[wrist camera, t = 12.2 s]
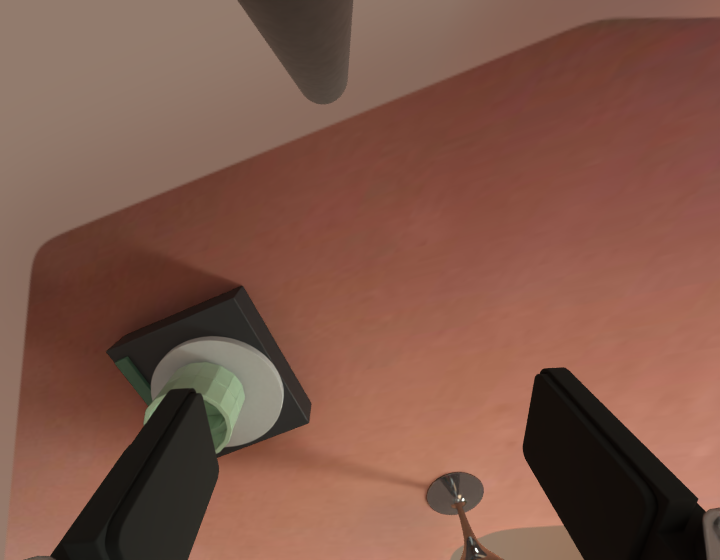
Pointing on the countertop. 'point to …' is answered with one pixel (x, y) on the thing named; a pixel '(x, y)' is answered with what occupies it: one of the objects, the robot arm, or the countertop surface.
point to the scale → (220, 363)
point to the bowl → (209, 397)
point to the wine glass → (460, 508)
